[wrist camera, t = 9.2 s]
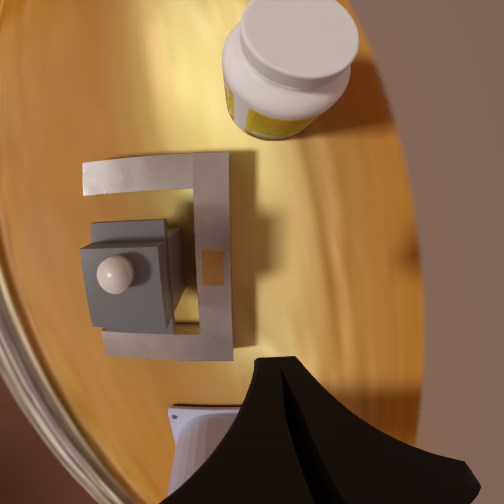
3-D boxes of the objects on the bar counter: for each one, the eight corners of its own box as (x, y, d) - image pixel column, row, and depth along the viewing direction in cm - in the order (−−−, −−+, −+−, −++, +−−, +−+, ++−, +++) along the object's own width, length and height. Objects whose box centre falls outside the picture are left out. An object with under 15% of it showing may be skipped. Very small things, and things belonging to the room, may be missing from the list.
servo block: (186, 302, 20) (165, 356, 13) (130, 301, 20) (90, 351, 13) (180, 211, 18) (151, 226, 12) (121, 213, 18) (69, 230, 12)
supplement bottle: (329, 108, 17) (407, 53, 8) (266, 159, 18) (298, 136, 8) (273, 48, 16) (302, -45, 7) (208, 97, 17) (181, 21, 7)
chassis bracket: (233, 348, 21) (233, 365, 19) (114, 344, 20) (104, 359, 18) (229, 154, 18) (228, 151, 16) (93, 164, 17) (78, 162, 15)
